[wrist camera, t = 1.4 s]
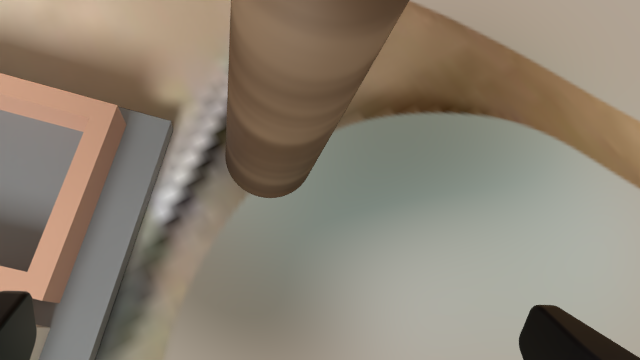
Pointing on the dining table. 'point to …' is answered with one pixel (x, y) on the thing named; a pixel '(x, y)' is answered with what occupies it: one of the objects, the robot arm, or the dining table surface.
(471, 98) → the dining table surface
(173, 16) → the dining table surface
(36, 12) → the dining table surface
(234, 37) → the walnut pin
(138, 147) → the board
